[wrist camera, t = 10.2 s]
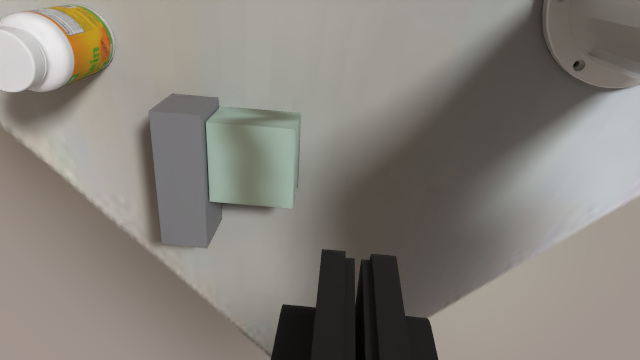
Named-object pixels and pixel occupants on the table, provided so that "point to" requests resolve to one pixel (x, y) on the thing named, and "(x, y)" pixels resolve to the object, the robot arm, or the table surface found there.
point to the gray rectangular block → (183, 170)
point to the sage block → (253, 156)
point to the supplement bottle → (52, 47)
